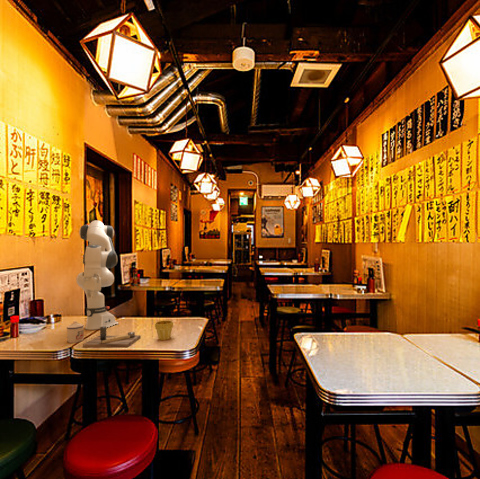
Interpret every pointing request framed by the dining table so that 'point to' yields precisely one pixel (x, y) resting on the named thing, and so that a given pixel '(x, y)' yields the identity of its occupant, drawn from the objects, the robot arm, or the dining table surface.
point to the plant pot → (164, 329)
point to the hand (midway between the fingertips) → (91, 298)
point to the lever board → (119, 343)
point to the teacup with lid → (75, 332)
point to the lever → (105, 340)
